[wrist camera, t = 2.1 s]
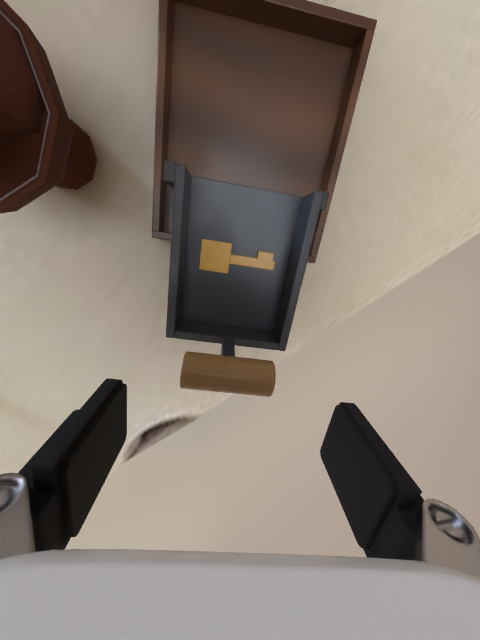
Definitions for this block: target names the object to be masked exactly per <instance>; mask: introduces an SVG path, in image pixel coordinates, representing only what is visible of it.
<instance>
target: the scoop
mask: <svg viewBox="0 0 480 640" xmlns="http://www.w3.org/2000/svg"><path fill="white" fill-rule="evenodd" d="M323 195H324V192H320V191H314V192H312V193H310V194H308V195H306V196H304V197H302V196H296V195H291V194H286V193H280V192H275V191H270V190H265V189H259V188H254V187H249V186H243V185H238V184H233V183H228V182H222V181H217V180H212V179H207V178H201V177H196V176H191V174H190V172H189V171H188V169H187V167H186V166H185V165H181V164H176V165H175V182H174V200H173V218H172V236H171V254H170V272H169V290H168V308H167V326H166V337H169V338H178V339H186V340H195V341H203V342H212V343H220V344H222V349H221V355H214V354H205V353H196V352H186V353H185V355H184V359H183V363H182V369H181V376H180V387H181V388H185V389H195V390H205V391H216V392H226V393H237V394H247V395H257V396H268V397H269V396H271V395H272V393H273V390H274V386H275V375H276V374H275V365H274V363H273V362H272V361H267V360H258V359H250V358H241V357H235V351H234V345H237V346H246V347H254V348H263V349H271V350H280V351H285V349H286V345H287V341H288V337H289V333H290V329H291V325H292V321H293V317H294V313H295V309H296V305H297V301H298V296H299V292H300V288H301V284H302V280H303V276H304V272H305V268H306V264H307V260H308V256H309V252H310V248H311V244H312V239H313V235H314V231H315V227H316V223H317V219H318V215H319V211H320V207H321V203H322V199H323ZM202 239H208V240H214V241H220V242H226V243H232V248H231V254H235V255H241V256H248V257H254V258H257V253H258V251H264V252H270V253H274V256H273V261H275V265H274V270H267V269H261V268H254V267H248V266H241V265H235V264H230V263H229V270H228V273H220V272H214V271H207V270H200V269H199V263H200V253H201V243H202Z"/></svg>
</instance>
